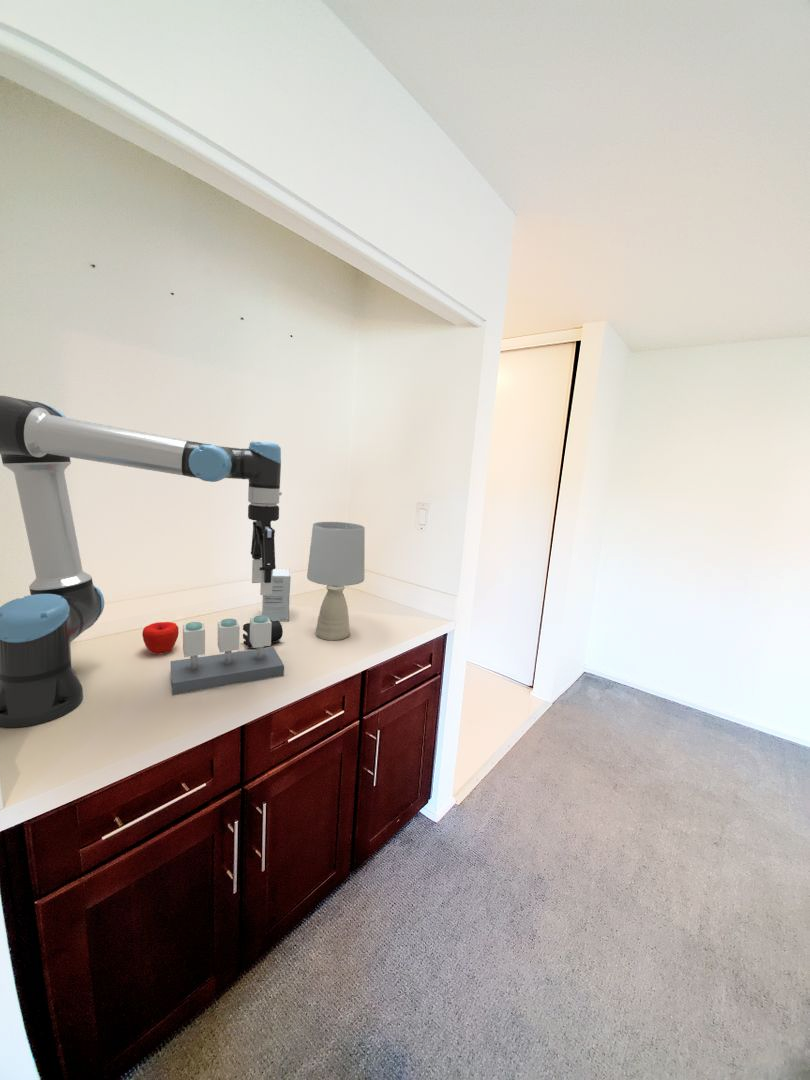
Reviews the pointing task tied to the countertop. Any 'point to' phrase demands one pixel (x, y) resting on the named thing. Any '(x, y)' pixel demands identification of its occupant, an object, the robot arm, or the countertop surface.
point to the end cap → (275, 632)
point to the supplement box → (278, 597)
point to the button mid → (228, 635)
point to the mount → (224, 669)
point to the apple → (160, 637)
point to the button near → (193, 639)
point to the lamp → (336, 572)
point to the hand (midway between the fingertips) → (261, 588)
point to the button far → (260, 631)
